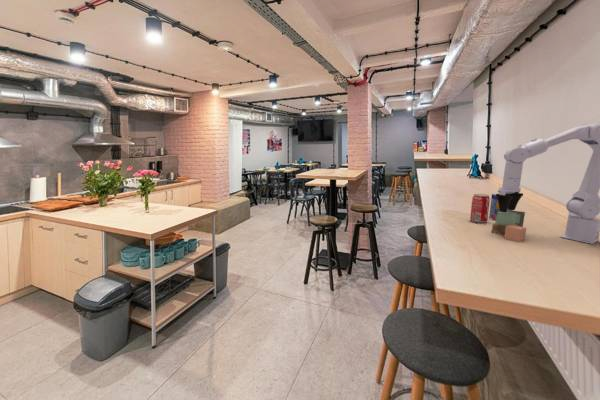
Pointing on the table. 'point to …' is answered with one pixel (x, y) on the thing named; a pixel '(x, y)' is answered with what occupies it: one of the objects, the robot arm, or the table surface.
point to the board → (519, 217)
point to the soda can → (480, 208)
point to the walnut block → (499, 228)
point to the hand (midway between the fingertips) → (507, 210)
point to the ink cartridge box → (494, 207)
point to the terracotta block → (515, 233)
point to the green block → (506, 218)
